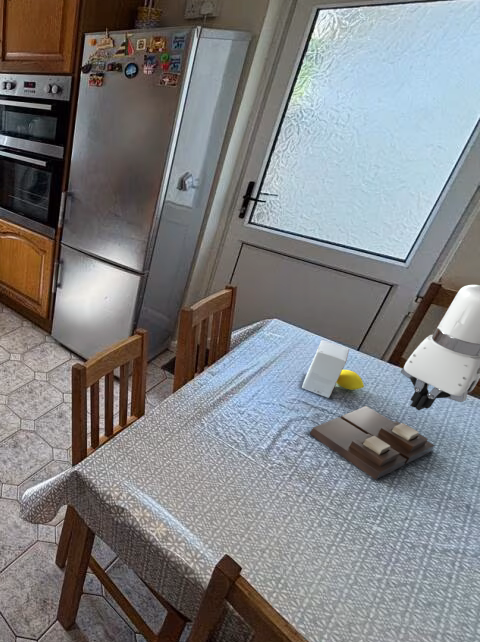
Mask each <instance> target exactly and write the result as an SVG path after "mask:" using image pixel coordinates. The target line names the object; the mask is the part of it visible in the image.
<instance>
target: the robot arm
mask: <svg viewBox="0 0 480 642" xmlns="http://www.w3.org/2000/svg"><path fill="white" fill-rule="evenodd" d="M400 374H402V375H403V376H404V377H406V378H408V379H409V380H410V382H411V383H412V385H413V390H414V393H412V396H411V398H410V401H411V403H410V407H412V408H415V409H416V410H417V411H422V410H424V409H427V410H428V409H429V408H431V407H432V406H433V404H434V403H435V401H436V399H449V400H452V401H455V402H458V403H463V402H465V401H466V400H467V396H468V393H471V392H472V391H473V390H474V389H475V387H476V386H477V384H478V382H479V381H480V285H479V284H468V285H464V286H462V287H461V288H460V289H459V290H458V292H457V293H456V294H455V297H454V298H453V300H452V302H451V303H450V305H449V306H448V308H447V311H446V312H445V314H444V315H443V317H442V318H441V320H440V322H439V323H438V326H437V327H436V328H435V331H434V333H433V334H429V335H428V336H427V337H425V338H424V340H422V341H421V342H420V343H419V344H418V346H417V347H416V348H415V349H414V351H413V352H412V353H411V354H410V356H409V357H408V358H407V360H406V361H405V364H404V366H403V368H402V369H401V370H400ZM429 386H431V387H433V388H432V389H431V390H430V391H429V390H428V389H429Z"/></svg>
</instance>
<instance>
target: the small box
mask: <svg viewBox="0 0 480 642" xmlns="http://www.w3.org/2000/svg"><path fill="white" fill-rule="evenodd" d="M349 353H350V348H348V347H345V346H342V345H339V344H336V343H333V342H330V341H326V340H323V339H322V340H321V341H320V343H319V346H318V347H317V349H316V352H315V354H314V356H313V358H312V361H311V363H310V366H309V368H308V370H307V372H306V375H305V376H304V379H303V383H302V386H301V388H302V389H304V390H306V391H309V392H311V393H314V394H317V395H319V396H322V397H325V398H327V399H330V397H331V395H332V393H333V391H334V389H335V386H336V385H337V383H336V382H337V380H338V378H339V376H340V374H341V372H342V370H344V368H345V365H346V363H347V361H348V356H349Z"/></svg>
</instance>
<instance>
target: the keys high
mask: <svg viewBox="0 0 480 642" xmlns="http://www.w3.org/2000/svg"><path fill="white" fill-rule="evenodd" d="M309 435H310V436H312V437H313V438H315V439H316V440H317V441H319V442H321V443H322V444H323V445H325V446H326V447H328V448H329V449H331V450H332V451H334V452H335V453H336V454H338V455H339V456H341V457H342V458H344V459H345V460H346V461H348V462H350V463H351V464H352V465H354V466H355V467H357V468H358V469H360V470H361V471H363V472H364V473H365V474H367V475H368V476H369V477H371V478H373V479H374V480H377V479H380V478H381V477H384V476H385V475H387V474H390V473H391V472H393V471H396V470H398V469H399V468H401V467H403V466H404V465H405V464H404V463H405V461H406V460H407V459H406V458H404V457H402V456H401V455H399V454H400V453H399V452H397V451H396V450H394V449H393V448H391V447H390V448H389V450H388V451H387V452H385V453H383V454H381V455H379V454H377V453H376V452H374V451H372V450H371V449H369V448H368V447H366V446H365V445H363V443H364V442H365V440H366V439H368V438H370V437H372V435H370V434H365V433H364V432H362V431H361V430H359V429H357V428H356V427H354V426H353V425H351V424H349V423H348V422H346V421H345V420H343V419H341V416H338V417H335V418H333V419H331V420H328V421H325V422H323V423H321V424H318V425H316V426H313V427H312V429H311V431H310V433H309Z"/></svg>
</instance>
